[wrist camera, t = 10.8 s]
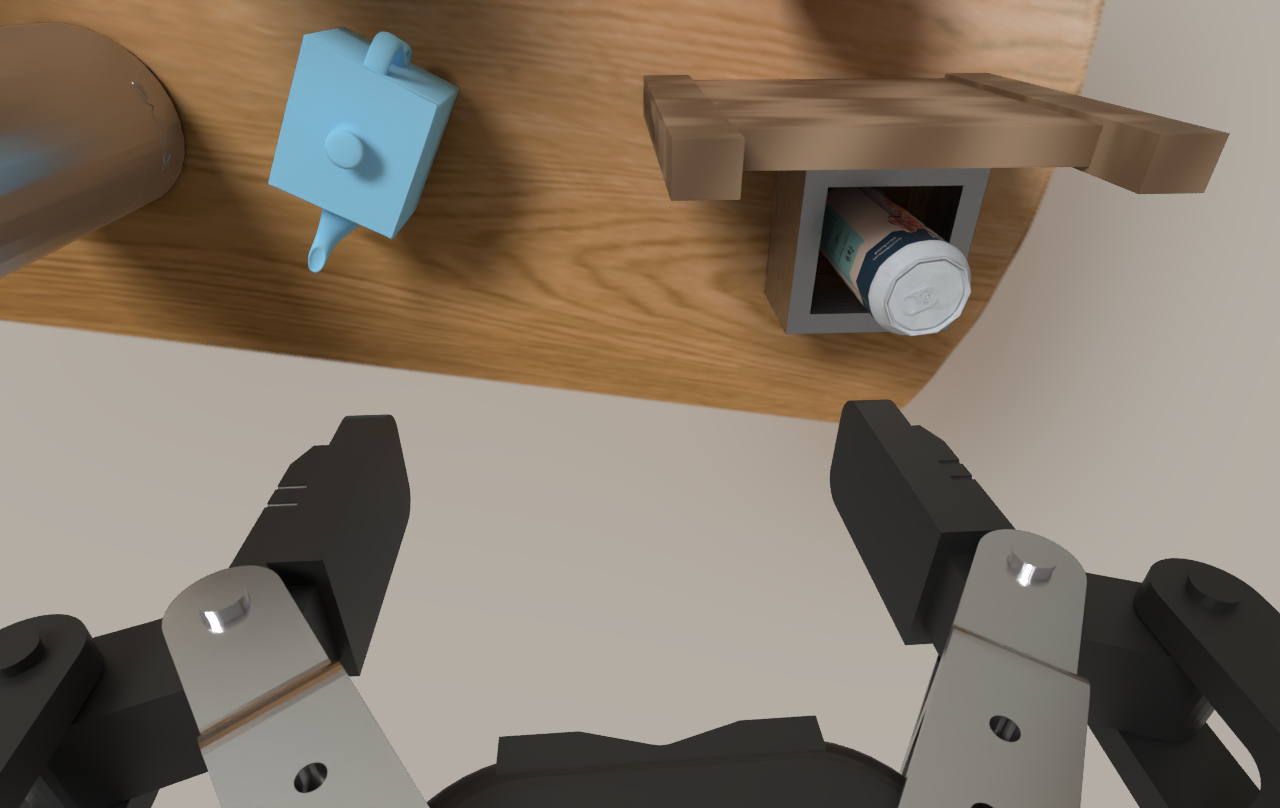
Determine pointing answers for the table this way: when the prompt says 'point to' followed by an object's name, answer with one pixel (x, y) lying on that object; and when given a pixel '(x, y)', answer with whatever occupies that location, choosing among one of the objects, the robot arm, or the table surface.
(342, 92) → the teapot
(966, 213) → the post bracket
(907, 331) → the beer can
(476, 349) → the table surface
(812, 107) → the headboard panel
